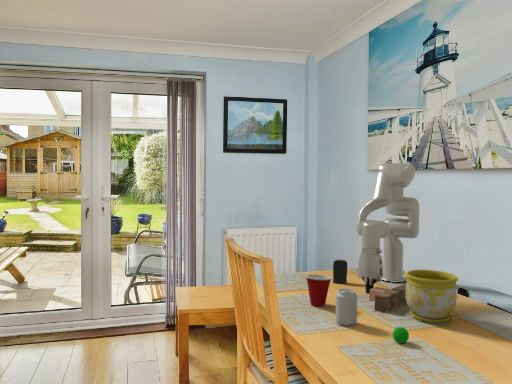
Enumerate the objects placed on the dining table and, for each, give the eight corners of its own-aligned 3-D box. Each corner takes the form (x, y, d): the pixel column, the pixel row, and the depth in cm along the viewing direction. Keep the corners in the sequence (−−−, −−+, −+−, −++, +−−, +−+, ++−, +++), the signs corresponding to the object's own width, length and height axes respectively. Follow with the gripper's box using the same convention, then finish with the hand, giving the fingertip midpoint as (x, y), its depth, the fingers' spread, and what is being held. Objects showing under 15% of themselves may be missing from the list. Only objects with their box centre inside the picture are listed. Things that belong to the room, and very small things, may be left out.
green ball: (399, 346, 137) (400, 331, 137) (389, 340, 141) (389, 326, 141) (412, 344, 139) (412, 329, 139) (401, 338, 143) (401, 324, 143)
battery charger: (346, 281, 218) (347, 259, 217) (347, 283, 214) (347, 260, 214) (332, 281, 219) (332, 258, 218) (332, 283, 215) (333, 260, 214)
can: (344, 328, 152) (345, 294, 152) (331, 321, 159) (331, 288, 159) (361, 324, 156) (361, 291, 155) (347, 318, 163) (348, 286, 162)
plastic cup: (335, 303, 181) (336, 274, 180) (324, 310, 172) (325, 280, 171) (311, 299, 187) (312, 271, 186) (300, 305, 178) (300, 276, 177)
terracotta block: (376, 298, 190) (376, 286, 190) (393, 302, 185) (393, 290, 184) (369, 300, 186) (369, 289, 186) (386, 305, 180) (387, 293, 180)
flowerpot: (396, 317, 164) (397, 274, 164) (416, 307, 177) (417, 267, 177) (445, 330, 152) (447, 283, 151) (462, 318, 165) (464, 275, 165)
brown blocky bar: (405, 296, 193) (406, 283, 193) (414, 298, 190) (415, 284, 190) (374, 310, 173) (375, 295, 172) (384, 312, 170) (384, 297, 170)
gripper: (390, 252, 186) (389, 295, 187) (360, 247, 197) (358, 288, 197) (382, 254, 181) (380, 298, 182) (350, 249, 191) (349, 291, 192)
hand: (369, 293), depth 190 cm, fingers closed
